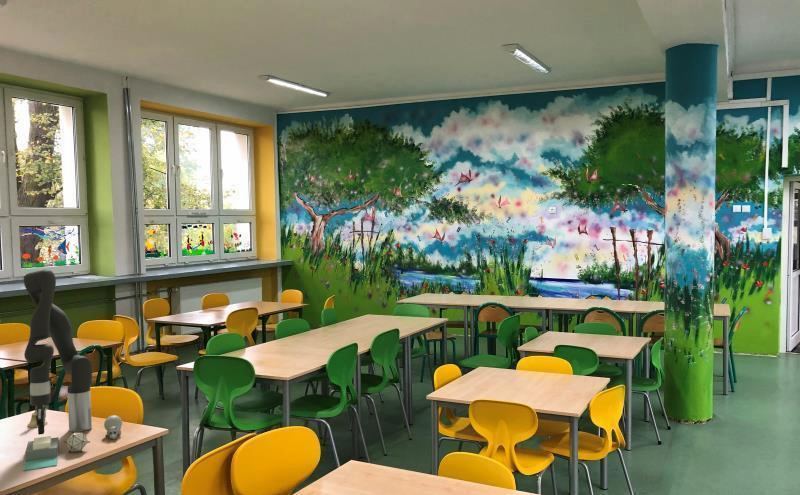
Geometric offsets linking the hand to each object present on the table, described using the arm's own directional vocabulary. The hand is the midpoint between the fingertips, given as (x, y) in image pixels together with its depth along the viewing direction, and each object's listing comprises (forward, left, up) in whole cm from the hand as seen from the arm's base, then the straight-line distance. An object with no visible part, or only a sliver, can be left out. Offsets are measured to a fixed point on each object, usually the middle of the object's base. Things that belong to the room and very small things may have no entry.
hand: (41, 433), depth 272 cm
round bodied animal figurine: (-27, -1, -6) cm, 28 cm away
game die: (-13, +12, -6) cm, 19 cm away
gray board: (-1, +9, -6) cm, 11 cm away
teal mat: (-1, +21, -6) cm, 22 cm away
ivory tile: (-1, +10, -2) cm, 10 cm away
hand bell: (+4, -37, -6) cm, 37 cm away
